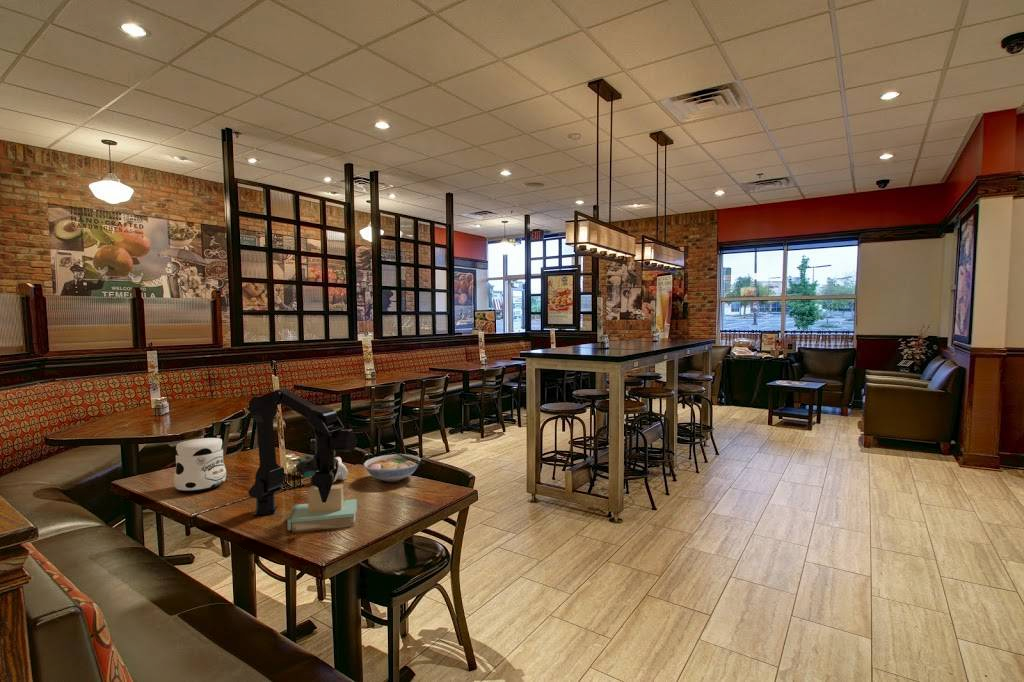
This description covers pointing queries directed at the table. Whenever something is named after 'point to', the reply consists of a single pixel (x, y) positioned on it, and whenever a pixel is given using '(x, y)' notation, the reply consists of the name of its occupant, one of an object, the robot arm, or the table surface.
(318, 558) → the table surface
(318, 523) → the box
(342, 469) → the white lumpy figurine
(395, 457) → the ramen bowl
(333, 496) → the tan rectangular block
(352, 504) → the lid
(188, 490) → the milk container
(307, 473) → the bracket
